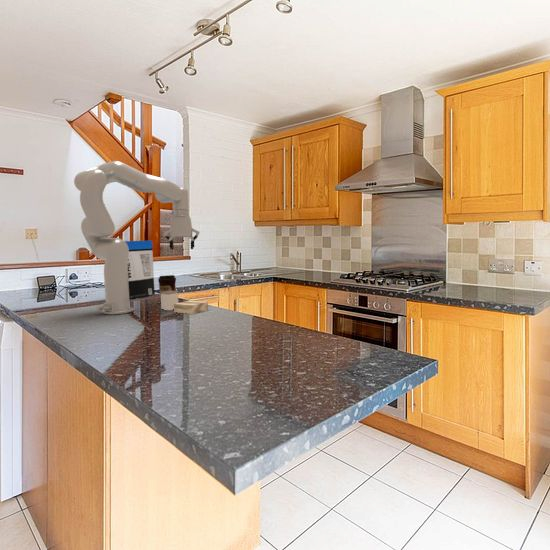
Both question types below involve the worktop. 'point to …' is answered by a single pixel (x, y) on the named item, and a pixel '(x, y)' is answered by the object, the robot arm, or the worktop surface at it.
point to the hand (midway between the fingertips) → (182, 249)
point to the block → (191, 307)
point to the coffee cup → (167, 283)
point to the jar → (168, 299)
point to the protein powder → (140, 269)
